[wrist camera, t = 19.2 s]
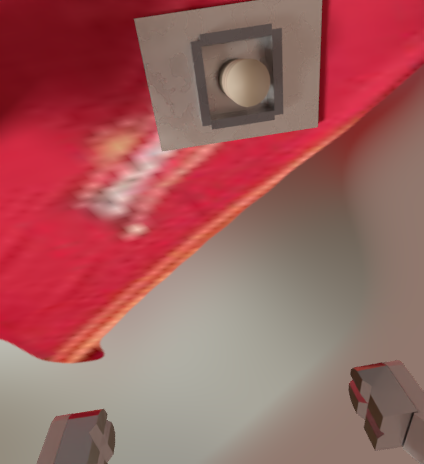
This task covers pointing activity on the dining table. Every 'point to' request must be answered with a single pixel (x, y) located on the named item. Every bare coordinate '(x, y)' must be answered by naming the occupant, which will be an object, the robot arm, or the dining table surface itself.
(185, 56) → the grey block with recess
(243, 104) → the disc
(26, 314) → the dining table surface
